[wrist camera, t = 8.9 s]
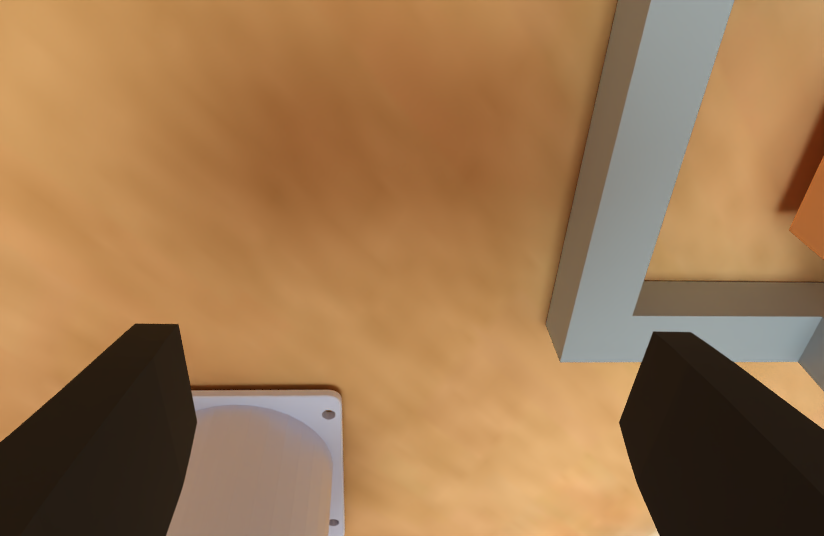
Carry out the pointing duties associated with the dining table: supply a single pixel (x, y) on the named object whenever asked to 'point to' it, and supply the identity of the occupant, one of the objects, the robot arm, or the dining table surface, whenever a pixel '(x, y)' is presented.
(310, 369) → the dining table surface
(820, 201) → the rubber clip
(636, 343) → the grey rod frame
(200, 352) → the dining table surface
